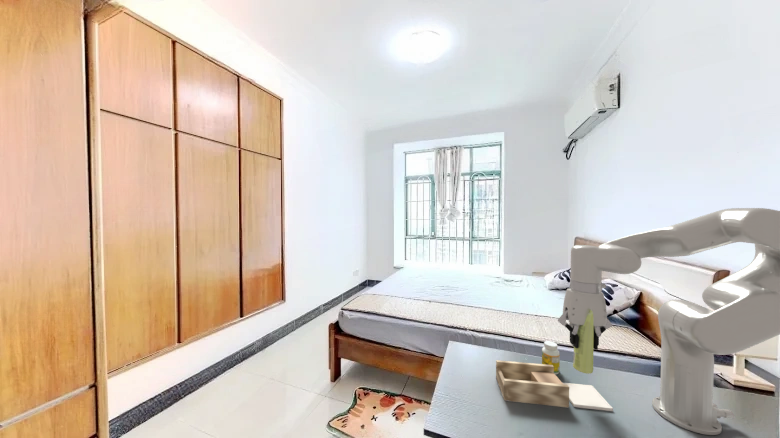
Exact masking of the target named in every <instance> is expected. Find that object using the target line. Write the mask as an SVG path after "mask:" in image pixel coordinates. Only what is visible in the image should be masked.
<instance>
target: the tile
mask: <svg viewBox="0 0 780 438" xmlns="http://www.w3.org/2000/svg"><path fill="white" fill-rule="evenodd" d="M562 383H563V384H564V385H568V386H569V403H570V404H571V405H572V406H573V408H580V409H590V410H599V411H607V412H614V407H612V405H610V404H609V402H608V401H607V400H606V399H605V398H604V397H603V396H602V395H601V393H600V392H599V391H598V390H597V389H596V388H595V386H594V385H591V384H581V383H569V382H562Z"/></svg>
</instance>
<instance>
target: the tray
mask: <svg viewBox="0 0 780 438" xmlns="http://www.w3.org/2000/svg"><path fill="white" fill-rule="evenodd" d="M531 372H547V373H554V367H553V365H546V364H542V363H533V362H521V361H511V360H510V361H509V360H497V359H496V360H495V378H496V382H497V384H498V387H499V390H500V392H501V396H502V397H503V400H504V401H506V402H515V403H525V404H532V405H533V404H534V405H542V406H549V407H550V406H551V407H559V408H560V407H561V408H570V401H569V386H568V385H564V384H554V383H544V382H534V381H531Z"/></svg>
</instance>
